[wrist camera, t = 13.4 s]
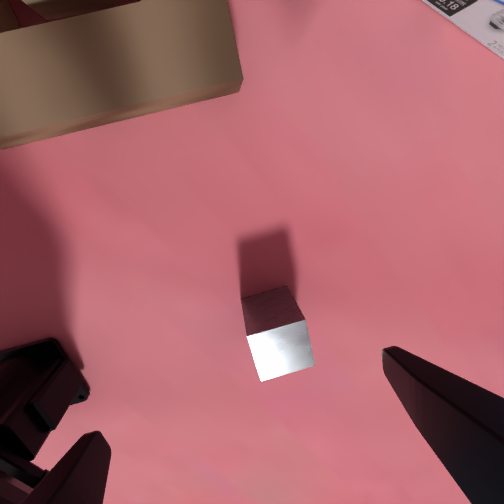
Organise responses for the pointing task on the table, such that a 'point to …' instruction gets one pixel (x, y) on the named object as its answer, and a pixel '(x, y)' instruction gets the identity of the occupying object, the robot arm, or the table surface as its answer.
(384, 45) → the table surface
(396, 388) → the robot arm
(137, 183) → the table surface
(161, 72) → the walnut sleeve block
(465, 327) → the table surface
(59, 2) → the maple pin
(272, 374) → the metal stub
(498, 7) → the light bulb box
